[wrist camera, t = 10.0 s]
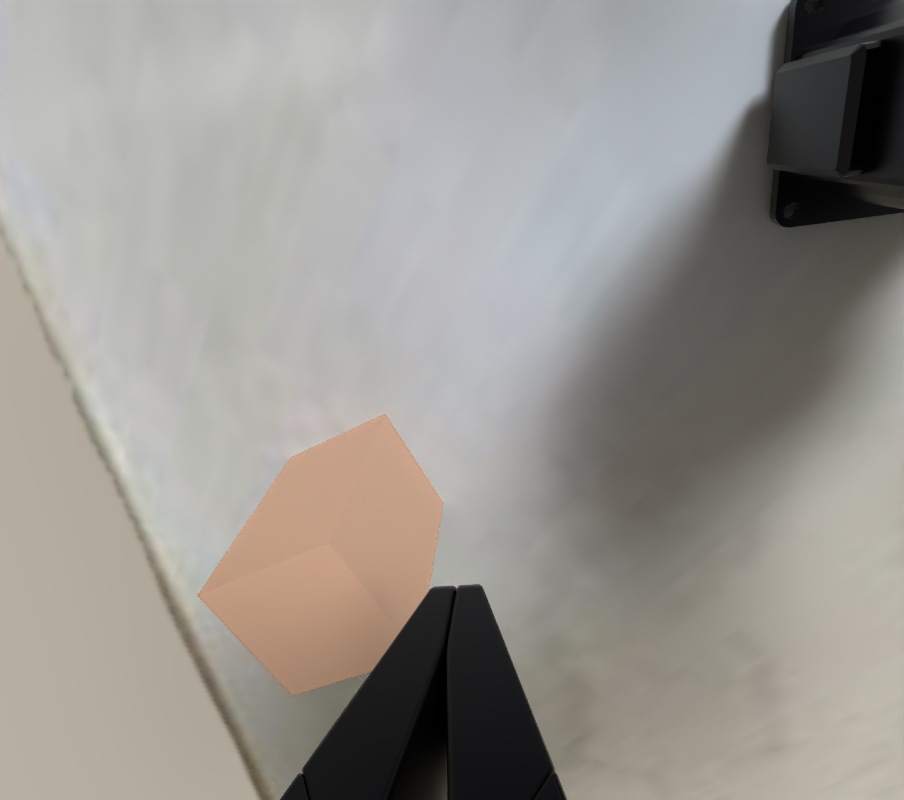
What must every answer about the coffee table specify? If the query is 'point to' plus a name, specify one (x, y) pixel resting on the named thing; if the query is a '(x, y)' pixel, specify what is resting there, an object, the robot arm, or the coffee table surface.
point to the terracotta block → (331, 559)
